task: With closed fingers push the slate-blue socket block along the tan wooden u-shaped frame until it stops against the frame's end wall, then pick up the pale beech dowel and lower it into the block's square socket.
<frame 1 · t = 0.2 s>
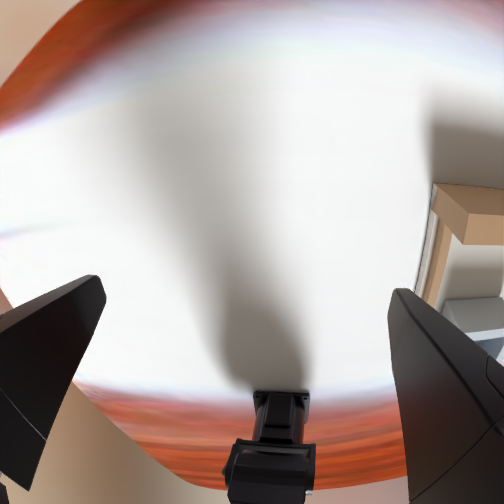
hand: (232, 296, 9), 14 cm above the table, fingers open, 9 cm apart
tan wooden u-shaped frame: (469, 293, 23), on the table
block: (472, 341, 21), point 3 cm above the table, slide at 0.0 cm
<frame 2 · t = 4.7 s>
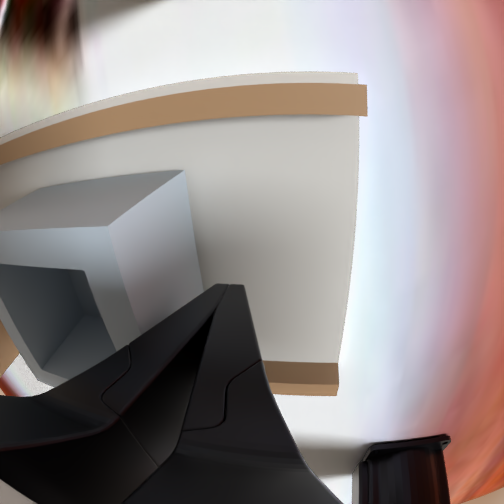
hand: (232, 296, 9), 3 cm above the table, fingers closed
tan wooden u-shaped frame: (104, 246, 12), on the table
block: (89, 294, 9), point 3 cm above the table, slide at 1.4 cm, touching gripper
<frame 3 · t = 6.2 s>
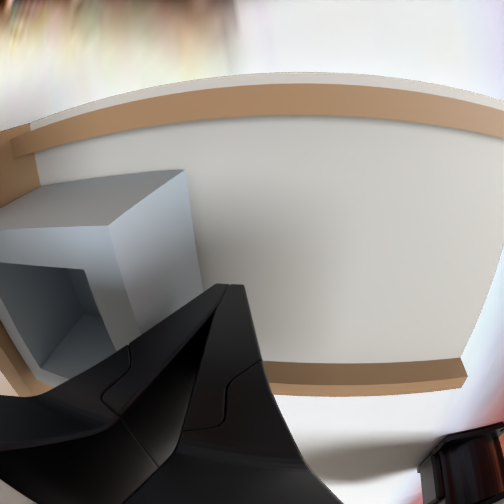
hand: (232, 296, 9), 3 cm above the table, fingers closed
tan wooden u-shaped frame: (238, 248, 11), on the table
block: (89, 293, 9), point 3 cm above the table, slide at 7.4 cm, touching gripper
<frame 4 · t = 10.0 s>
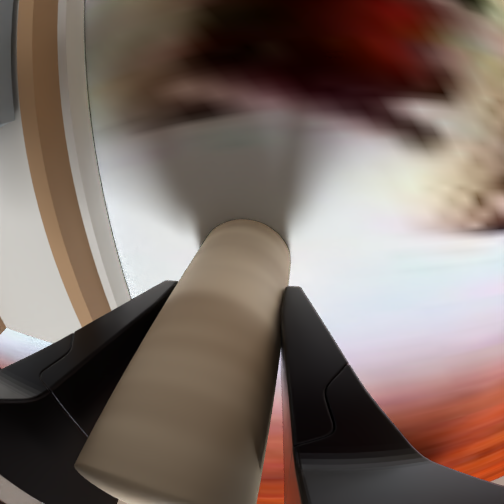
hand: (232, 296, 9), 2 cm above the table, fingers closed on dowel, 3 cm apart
tan wooden u-shaped frame: (0, 155, 10), on the table
dowel: (245, 260, 10), on the table, touching gripper
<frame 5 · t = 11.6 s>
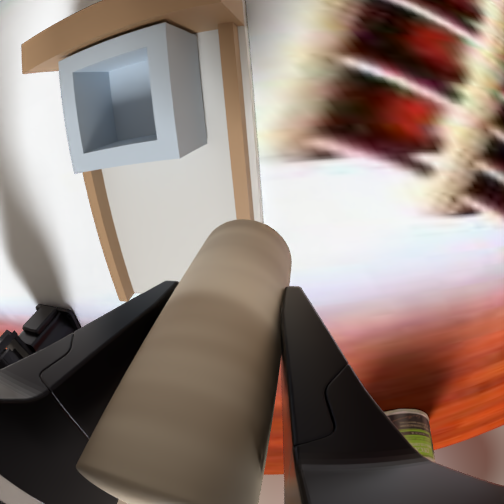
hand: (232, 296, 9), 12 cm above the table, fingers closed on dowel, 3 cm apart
coffee can: (388, 428, 30), on the table
tan wooden u-shaped frame: (167, 162, 19), on the table
block: (132, 99, 14), point 3 cm above the table, slide at 7.4 cm
dowel: (246, 261, 10), point 10 cm above the table, touching gripper
when the fingers open (6 cm above the table, at t = 13.4 s): dowel drops 2 cm, resting on block.
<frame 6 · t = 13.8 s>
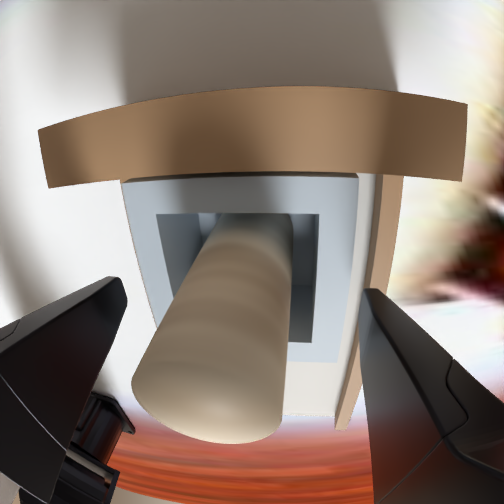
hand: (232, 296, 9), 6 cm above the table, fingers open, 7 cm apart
tan wooden u-shaped frame: (266, 296, 16), on the table
block: (250, 251, 11), point 3 cm above the table, slide at 7.4 cm, touching dowel
dowel: (255, 231, 12), point 2 cm above the table, touching block
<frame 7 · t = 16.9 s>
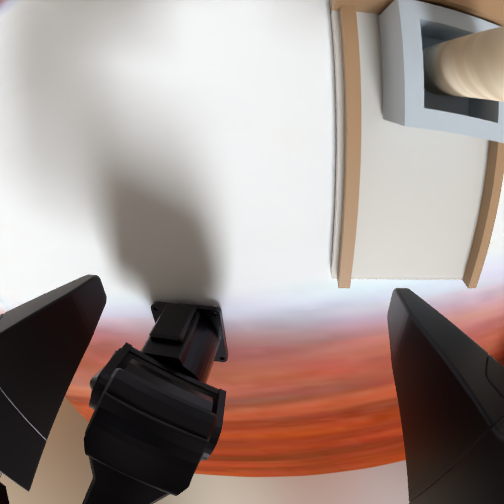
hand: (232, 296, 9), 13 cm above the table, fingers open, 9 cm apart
tan wooden u-shaped frame: (424, 140, 17), on the table
block: (446, 72, 12), point 3 cm above the table, slide at 7.4 cm, touching dowel
dowel: (436, 70, 13), point 2 cm above the table, touching block
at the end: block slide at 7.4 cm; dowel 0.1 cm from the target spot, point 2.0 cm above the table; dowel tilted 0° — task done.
